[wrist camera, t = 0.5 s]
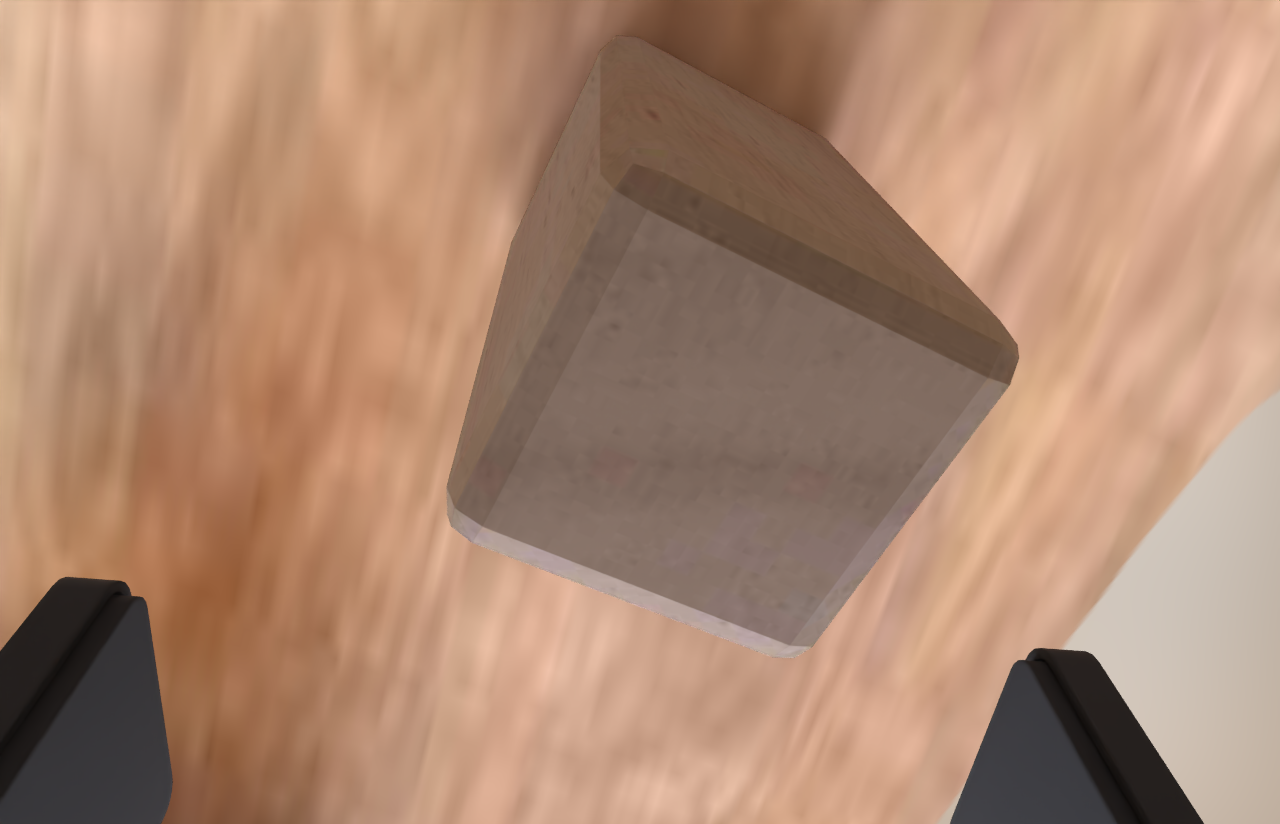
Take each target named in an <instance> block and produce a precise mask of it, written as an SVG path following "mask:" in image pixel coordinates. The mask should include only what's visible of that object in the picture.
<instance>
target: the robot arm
mask: <svg viewBox="0 0 1280 824" xmlns="http://www.w3.org/2000/svg"><path fill="white" fill-rule="evenodd" d="M172 783H173V781H172V771H171V764H170V757H169V750H168V743H167V737H166V730H165V723H164V716H163V710H162V703H161V696H160V689H159V682H158V676H157V669H156V662H155V655H154V648H153V642H152V635H151V628H150V621H149V615H148V608H147V604H146V601H145V600H144V598H143V597H138V596H131V592H130V589H129V587H128V585H127V584H126V583H125V582H122V581H116V580H102V579H88V578H74V577H64V578H62V579H59V580H58V581H57V582H56V583H55V584H54V585H53V586H52V587H51V588H50V590H49V591H48V592H47V593H46V595H45V596H44V597H43V598H42V600H41V601H40V602H39V603H38V605H37V606H36V607H35V608H34V610H33V611H32V612H31V613H30V615H29V616H28V617H27V618H26V620H25V621H24V622H23V623H22V625H21V626H20V627H19V628H18V630H17V631H16V632H15V633H14V635H13V636H12V637H11V638H10V640H9V641H8V642H7V643H6V645H5V646H4V647H3V648H2V650H1V651H0V824H161V823H162V820H163V818H164V816H165V814H166V811H167V809H168V805H169V802H170V798H171V792H172ZM950 824H1204V823H1203V821H1202V820H1201V818H1200V817H1199V815H1198V814H1197V812H1196V811H1195V809H1194V808H1193V806H1192V805H1191V803H1190V801H1189V800H1188V798H1187V797H1186V795H1185V794H1184V792H1183V790H1182V789H1181V787H1180V786H1179V784H1178V783H1177V781H1176V780H1175V778H1174V777H1173V775H1172V774H1171V772H1170V770H1169V769H1168V767H1167V766H1166V764H1165V763H1164V761H1163V760H1162V758H1161V757H1160V756H1159V754H1158V752H1157V750H1156V749H1155V748H1154V746H1153V744H1152V743H1151V741H1150V740H1149V738H1148V737H1147V735H1146V734H1145V732H1144V730H1143V729H1142V727H1141V726H1140V724H1139V723H1138V721H1137V720H1136V718H1135V717H1134V715H1133V714H1132V712H1131V710H1130V709H1129V707H1128V706H1127V704H1126V703H1125V701H1124V700H1123V698H1122V697H1121V695H1120V694H1119V692H1118V691H1117V689H1116V687H1115V686H1114V684H1113V683H1112V681H1111V680H1110V678H1109V677H1108V675H1107V674H1106V672H1105V670H1104V669H1103V667H1102V666H1101V664H1100V663H1099V662H1098V660H1097V659H1096V658H1095V657H1094V656H1093V655H1092V654H1090V653H1088V652H1086V651H1073V650H1059V649H1045V648H1038V649H1034V650H1033V651H1031V652H1030V653H1029V655H1028V657H1027V658H1026V660H1018V661H1017V662H1016V663H1014V665H1013V667H1012V668H1011V671H1010V673H1009V676H1008V678H1007V681H1006V683H1005V686H1004V688H1003V691H1002V693H1001V696H1000V698H999V701H998V703H997V706H996V708H995V711H994V713H993V716H992V718H991V721H990V723H989V726H988V728H987V731H986V734H985V736H984V739H983V741H982V744H981V746H980V749H979V751H978V754H977V756H976V759H975V761H974V764H973V766H972V769H971V771H970V774H969V776H968V779H967V781H966V784H965V786H964V789H963V791H962V794H961V796H960V799H959V801H958V804H957V806H956V809H955V812H954V814H953V817H952V819H951V822H950Z"/></svg>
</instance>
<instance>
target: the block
mask: <svg viewBox="0 0 1280 824" xmlns="http://www.w3.org/2000/svg"><path fill="white" fill-rule="evenodd" d="M1018 360H1019V354H1018V346H1017V343H1016V342H1015V341H1014V339H1013V338H1012V337H1011V335H1010V334H1009V332H1008V331H1007V330H1006V328H1005V327H1004V326H1003V324H1002V323H1001V321H1000V320H999V319H998V318H997V317H996V316H995V315H994V314H993V313H992V312H991V311H990V310H989V309H988V307H987V306H986V305H985V304H984V303H983V302H982V301H981V300H980V299H979V298H978V297H977V296H976V295H975V294H974V293H973V292H972V291H971V290H970V289H969V288H968V287H967V286H966V285H965V283H964V282H963V281H962V280H961V279H960V278H959V277H958V276H957V275H956V274H955V273H954V272H953V271H952V270H951V269H950V268H949V267H948V266H947V265H946V264H945V263H944V262H943V261H942V259H941V258H940V257H939V256H938V255H937V254H936V253H935V252H934V251H933V250H932V249H931V248H930V247H929V246H928V245H927V244H926V243H925V242H924V241H923V240H922V239H921V238H920V237H919V235H918V234H917V233H916V232H915V231H914V230H913V229H912V228H911V227H910V226H909V225H908V224H907V223H906V222H905V221H904V220H903V219H902V218H901V217H900V216H899V215H898V214H897V213H896V211H895V210H894V209H893V208H892V207H891V206H890V205H889V204H888V203H887V202H886V201H885V200H884V199H883V198H882V197H881V196H880V195H879V194H878V193H877V192H876V191H875V190H874V189H873V188H872V186H871V185H870V184H869V183H868V182H867V181H866V180H865V179H864V178H863V177H862V176H861V175H860V174H859V173H858V172H857V171H856V170H855V169H854V168H853V167H852V166H851V165H850V164H849V162H848V161H847V160H846V159H845V158H844V157H843V156H842V155H841V154H840V153H839V152H838V151H837V150H836V149H835V148H834V147H833V146H832V145H831V144H830V143H829V142H828V141H827V140H826V139H825V138H823V137H822V136H820V135H818V134H816V133H814V132H812V131H810V130H809V129H807V128H805V127H803V126H801V125H799V124H798V123H796V122H794V121H792V120H790V119H788V118H786V117H785V116H783V115H781V114H779V113H777V112H775V111H773V110H772V109H770V108H768V107H766V106H764V105H762V104H761V103H759V102H757V101H755V100H753V99H751V98H749V97H748V96H746V95H744V94H742V93H740V92H738V91H736V90H735V89H733V88H731V87H729V86H727V85H725V84H724V83H722V82H720V81H718V80H716V79H714V78H712V77H711V76H709V75H707V74H705V73H703V72H701V71H699V70H698V69H696V68H694V67H692V66H690V65H688V64H687V63H685V62H683V61H681V60H679V59H677V58H675V57H674V56H672V55H670V54H668V53H666V52H664V51H662V50H661V49H659V48H657V47H655V46H653V45H651V44H650V43H648V42H646V41H644V40H642V39H640V38H638V37H629V36H617V35H616V36H615V37H614V38H613V39H612V40H611V41H610V42H609V43H608V44H607V45H606V46H605V47H603V48H602V49H601V50H600V52H599V55H598V57H597V59H596V61H595V63H594V65H593V68H592V70H591V72H590V74H589V76H588V78H587V81H586V83H585V85H584V87H583V89H582V91H581V93H580V96H579V98H578V100H577V102H576V104H575V106H574V109H573V111H572V113H571V115H570V117H569V119H568V122H567V124H566V126H565V128H564V130H563V132H562V134H561V137H560V139H559V141H558V143H557V145H556V147H555V150H554V152H553V154H552V156H551V158H550V160H549V163H548V165H547V167H546V169H545V171H544V173H543V175H542V178H541V180H540V182H539V184H538V186H537V188H536V191H535V193H534V195H533V197H532V199H531V201H530V204H529V206H528V208H527V210H526V212H525V214H524V216H523V219H522V221H521V223H520V225H519V227H518V229H517V232H516V234H515V236H514V238H513V240H512V242H511V246H510V250H509V254H508V257H507V261H506V265H505V269H504V273H503V276H502V280H501V284H500V288H499V291H498V295H497V299H496V303H495V306H494V310H493V314H492V318H491V321H490V325H489V329H488V333H487V337H486V340H485V344H484V348H483V352H482V355H481V359H480V363H479V367H478V370H477V374H476V378H475V382H474V385H473V389H472V393H471V397H470V400H469V404H468V408H467V412H466V416H465V419H464V423H463V427H462V431H461V434H460V438H459V442H458V446H457V449H456V453H455V457H454V461H453V464H452V468H451V472H450V476H449V479H448V483H447V515H448V518H449V521H450V524H451V526H452V527H453V528H454V529H455V530H457V531H458V532H459V533H460V534H462V535H463V536H464V537H465V538H467V539H468V540H469V541H470V542H472V543H474V544H476V545H479V546H482V547H484V548H487V549H490V550H492V551H495V552H497V553H500V554H503V555H505V556H508V557H511V558H513V559H516V560H518V561H521V562H524V563H526V564H529V565H531V566H534V567H537V568H539V569H542V570H545V571H547V572H550V573H552V574H555V575H558V576H560V577H563V578H566V579H568V580H571V581H573V582H576V583H579V584H581V585H584V586H587V587H589V588H592V589H594V590H597V591H600V592H602V593H605V594H608V595H610V596H613V597H615V598H618V599H621V600H623V601H626V602H629V603H631V604H634V605H636V606H639V607H642V608H644V609H647V610H650V611H652V612H655V613H657V614H660V615H663V616H665V617H668V618H671V619H673V620H676V621H678V622H681V623H684V624H686V625H689V626H692V627H694V628H697V629H699V630H702V631H705V632H707V633H710V634H712V635H715V636H718V637H720V638H723V639H726V640H728V641H731V642H733V643H736V644H739V645H741V646H744V647H747V648H749V649H752V650H754V651H757V652H760V653H762V654H765V655H768V656H770V657H773V658H795V657H797V656H798V655H800V654H802V653H803V652H805V651H806V650H808V649H810V648H811V647H813V645H814V644H815V643H816V641H817V640H818V639H819V637H820V636H821V635H822V633H823V632H824V631H825V629H826V628H827V627H828V625H829V624H830V623H831V621H832V620H833V619H834V617H835V616H836V615H837V613H838V612H839V611H840V609H841V608H842V607H843V605H844V604H845V603H846V601H847V600H848V599H849V597H850V596H851V595H852V594H853V592H854V591H855V590H856V588H857V587H858V586H859V584H860V583H861V582H862V580H863V579H864V578H865V576H866V575H867V574H868V572H869V571H870V570H871V568H872V567H873V566H874V564H875V563H876V562H877V560H878V559H879V558H880V556H881V555H882V554H883V552H884V551H885V550H886V548H887V547H888V546H889V544H890V543H891V542H892V540H893V539H894V538H895V537H896V535H897V534H898V533H899V531H900V530H901V529H902V527H903V526H904V525H905V523H906V522H907V521H908V519H909V518H910V517H911V515H912V514H913V513H914V511H915V510H916V509H917V507H918V506H919V505H920V503H921V502H922V501H923V499H924V498H925V497H926V495H927V494H928V493H929V491H930V490H931V489H932V487H933V486H934V485H935V483H936V482H937V481H938V480H939V478H940V477H941V476H942V474H943V473H944V472H945V470H946V469H947V468H948V466H949V465H950V464H951V462H952V461H953V460H954V458H955V457H956V456H957V454H958V453H959V452H960V450H961V449H962V448H963V446H964V445H965V444H966V442H967V441H968V440H969V438H970V437H971V436H972V434H973V433H974V432H975V430H976V429H977V428H978V427H979V425H980V424H981V423H982V421H983V420H984V419H985V417H986V416H987V415H988V413H989V412H990V411H991V409H992V408H993V407H994V405H995V404H996V403H997V401H998V400H999V399H1000V397H1001V396H1002V395H1003V393H1004V392H1005V391H1006V389H1007V388H1008V387H1009V385H1010V383H1011V380H1012V377H1013V374H1014V371H1015V368H1016V365H1017V363H1018Z"/></svg>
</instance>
